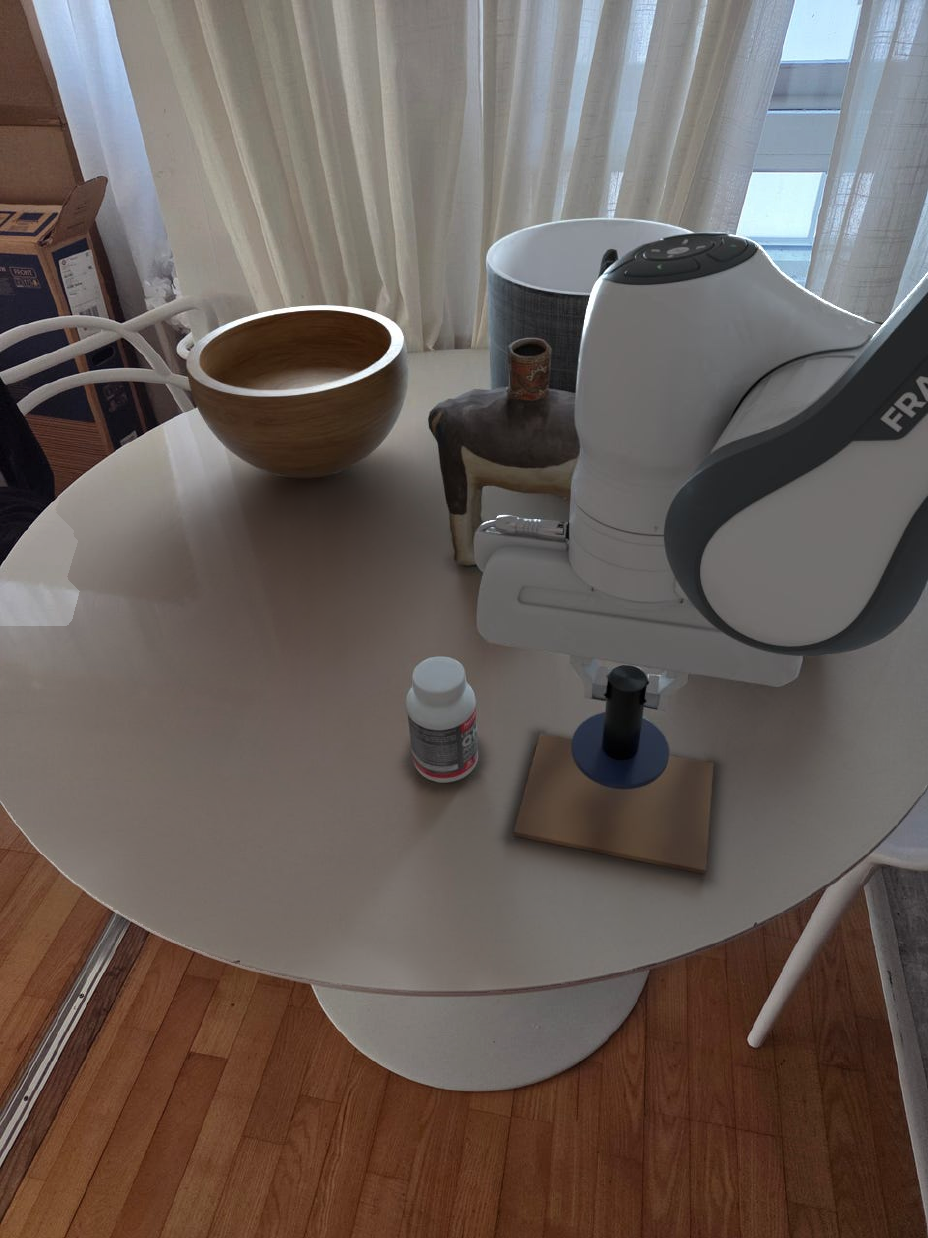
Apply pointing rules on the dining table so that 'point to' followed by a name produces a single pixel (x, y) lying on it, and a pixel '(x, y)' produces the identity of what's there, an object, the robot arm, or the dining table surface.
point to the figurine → (507, 438)
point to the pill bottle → (442, 720)
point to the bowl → (301, 387)
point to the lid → (621, 736)
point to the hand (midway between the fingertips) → (626, 698)
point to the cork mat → (618, 810)
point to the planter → (553, 286)
